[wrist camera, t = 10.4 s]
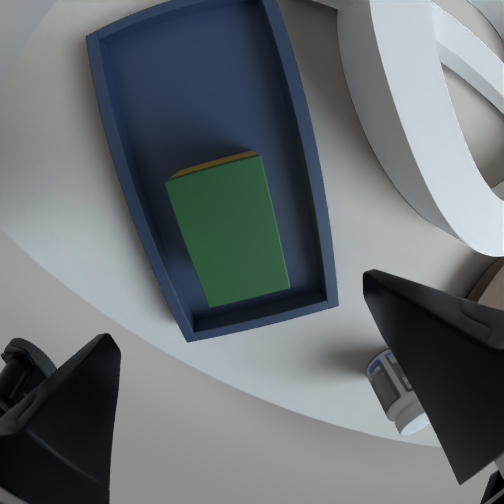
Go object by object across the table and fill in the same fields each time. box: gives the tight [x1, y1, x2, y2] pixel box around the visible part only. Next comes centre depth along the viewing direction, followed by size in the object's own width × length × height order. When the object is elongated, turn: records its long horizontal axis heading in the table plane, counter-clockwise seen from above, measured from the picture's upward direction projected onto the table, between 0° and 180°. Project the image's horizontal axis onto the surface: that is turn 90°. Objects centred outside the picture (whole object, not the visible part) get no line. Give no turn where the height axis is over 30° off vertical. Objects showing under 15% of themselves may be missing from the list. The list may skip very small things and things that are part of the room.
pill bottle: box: [366, 349, 430, 436], centre depth 21 cm, size 5×5×8 cm
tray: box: [86, 0, 339, 342], centre depth 15 cm, size 11×22×2 cm, turn 14°
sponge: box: [165, 150, 290, 307], centre depth 15 cm, size 4×7×4 cm, turn 14°
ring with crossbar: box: [312, 0, 504, 257], centre depth 11 cm, size 28×28×5 cm
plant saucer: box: [467, 256, 504, 310], centre depth 22 cm, size 18×18×3 cm
